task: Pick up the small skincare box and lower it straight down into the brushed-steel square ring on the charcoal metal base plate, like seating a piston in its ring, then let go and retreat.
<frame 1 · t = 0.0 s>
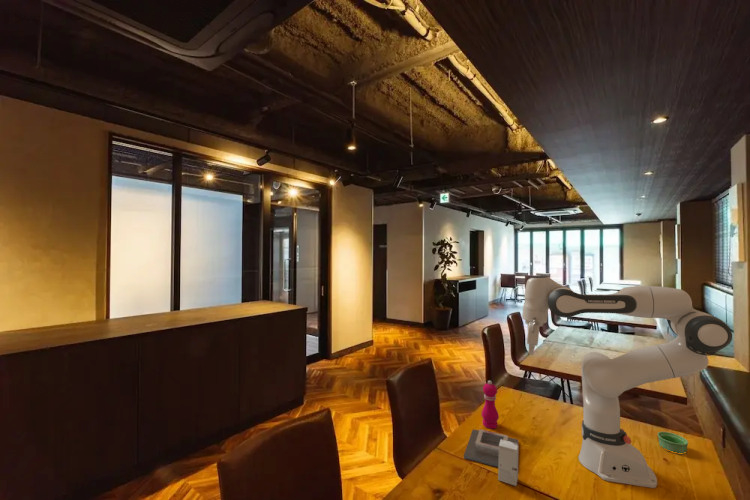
hand: (531, 350, 130), 39 cm above the table, tool pointing down, fingers open, 8 cm apart
skincare box: (508, 480, 112), on the table
ramekin: (672, 449, 129), on the table
ring block: (492, 450, 129), on the table
pepper mill: (490, 425, 147), on the table
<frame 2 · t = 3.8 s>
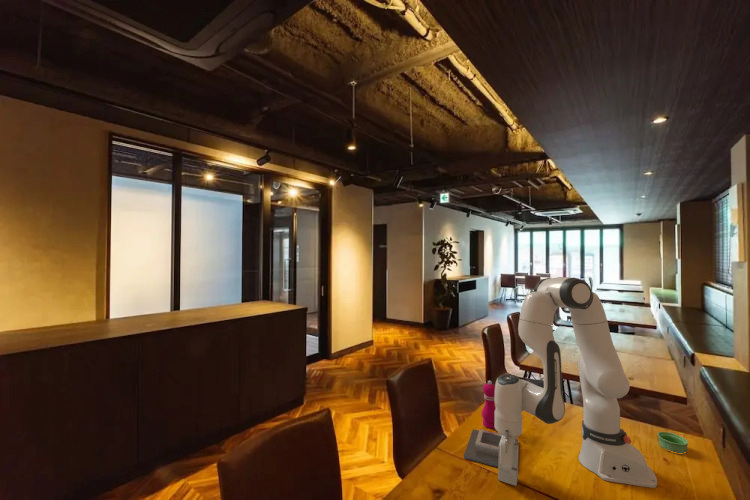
hand: (508, 464, 112), 5 cm above the table, tool pointing down, fingers closed on skincare box, 4 cm apart
skincare box: (508, 480, 112), on the table, touching gripper
everything else where it was.
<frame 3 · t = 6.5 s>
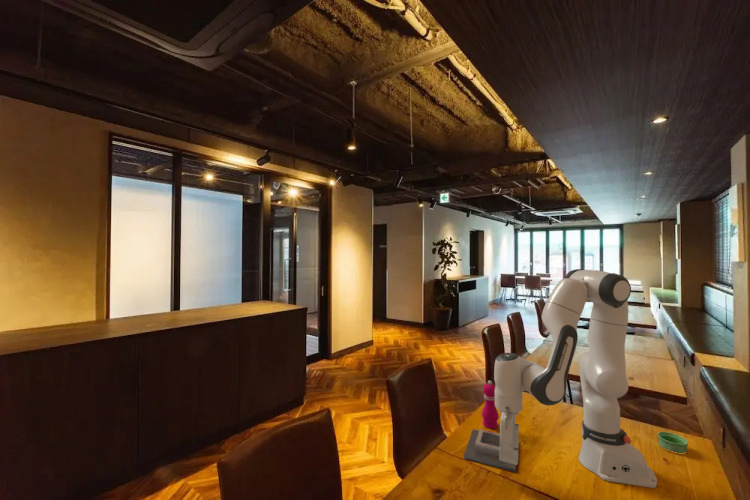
hand: (509, 442, 112), 13 cm above the table, tool pointing down, fingers closed on skincare box, 4 cm apart
skincare box: (509, 459, 113), point 7 cm above the table, touching gripper
everything else where it was.
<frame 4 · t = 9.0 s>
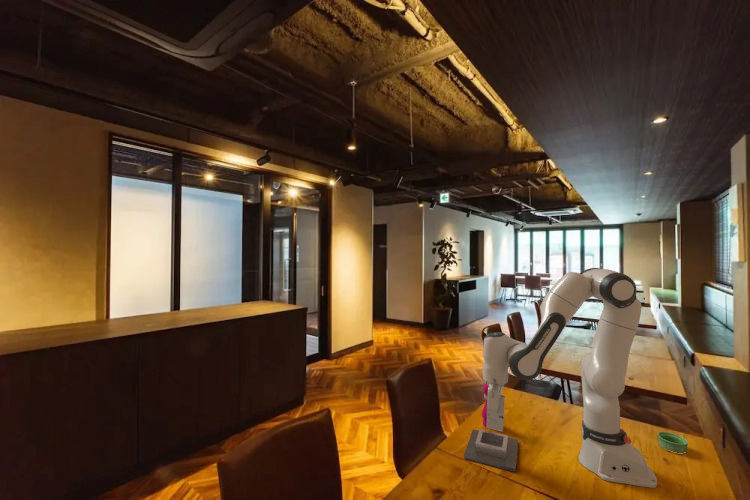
hand: (495, 411, 125), 17 cm above the table, tool pointing down, fingers closed on skincare box, 4 cm apart
skincare box: (495, 427, 125), point 11 cm above the table, touching gripper
everything else where it was.
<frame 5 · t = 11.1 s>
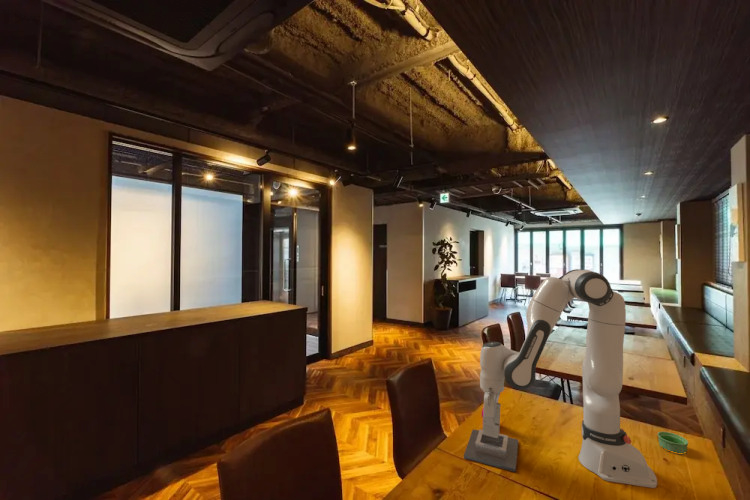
hand: (491, 419, 129), 12 cm above the table, tool pointing down, fingers closed on skincare box, 4 cm apart
skincare box: (491, 434, 129), point 6 cm above the table, touching gripper
everything else where it was.
when the fingers open (8 cm above the table, at t = 12.9 s): skincare box stays where it is, resting on ring block.
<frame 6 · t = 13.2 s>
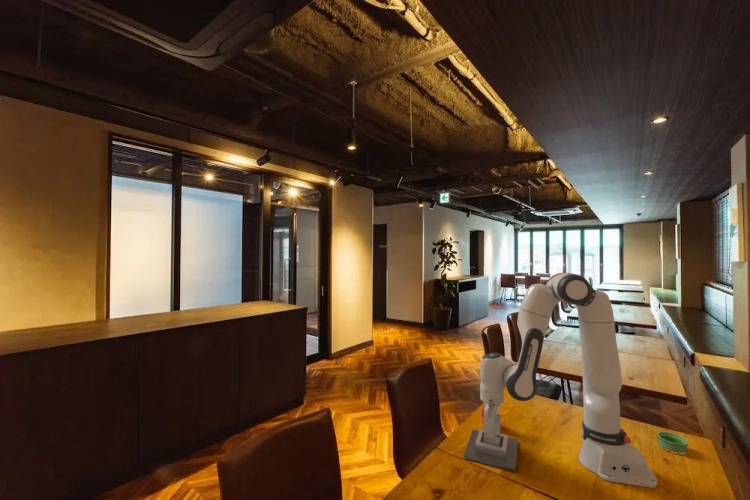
hand: (492, 430, 129), 8 cm above the table, tool pointing down, fingers open, 8 cm apart
skincare box: (492, 446, 129), point 1 cm above the table, touching ring block
everything else where it was.
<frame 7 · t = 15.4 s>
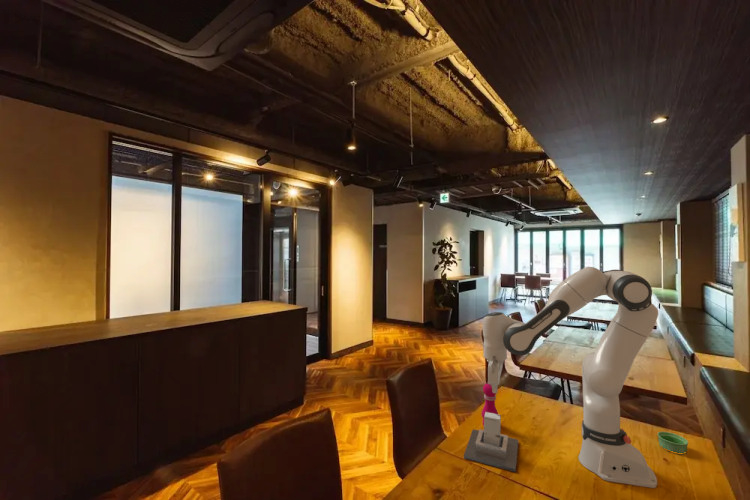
hand: (496, 387, 131), 24 cm above the table, tool pointing down, fingers open, 8 cm apart
nothing on the table moved.
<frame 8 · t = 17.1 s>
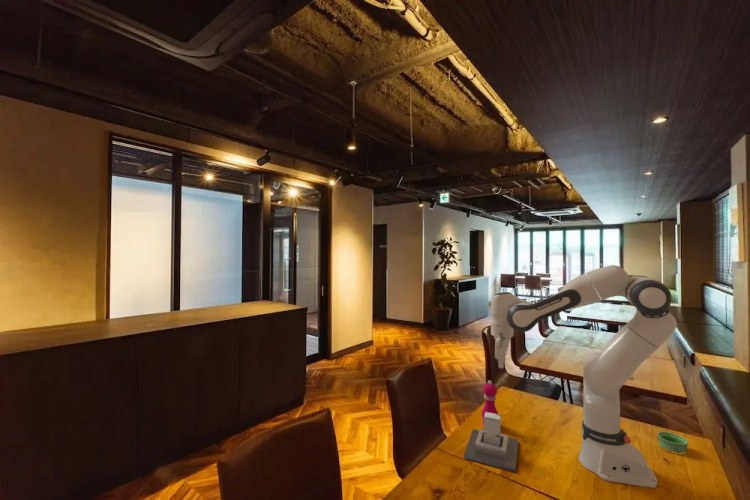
hand: (502, 364, 137), 31 cm above the table, tool pointing down, fingers open, 8 cm apart
nothing on the table moved.
at the end: skincare box 0.7 cm off-centre on the ring block, point 1.0 cm above the ring block's base; skincare box tilted 0°; the gripper is holding nothing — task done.
